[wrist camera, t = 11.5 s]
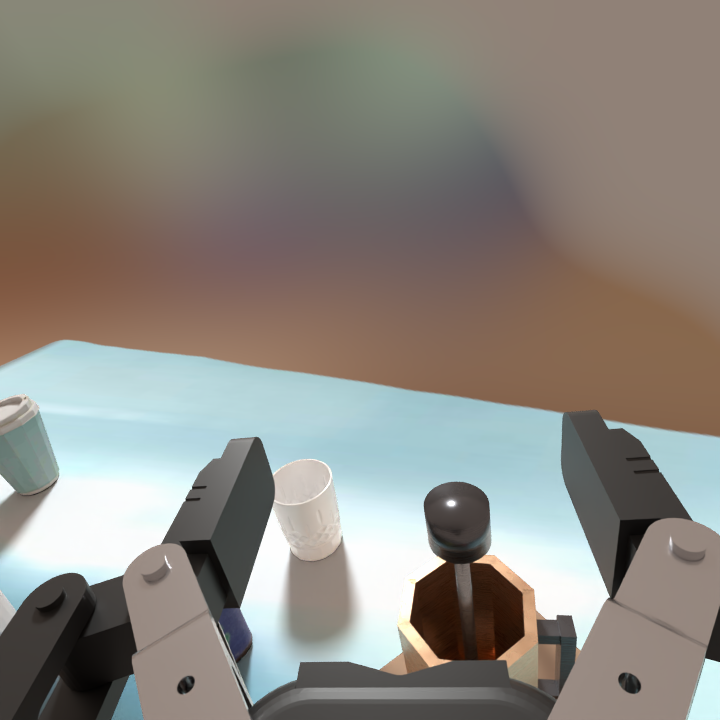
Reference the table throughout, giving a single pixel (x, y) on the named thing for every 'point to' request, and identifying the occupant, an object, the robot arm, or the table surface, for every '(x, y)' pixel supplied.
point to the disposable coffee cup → (25, 447)
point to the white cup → (307, 508)
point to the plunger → (460, 542)
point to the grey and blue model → (235, 632)
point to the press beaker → (482, 622)
